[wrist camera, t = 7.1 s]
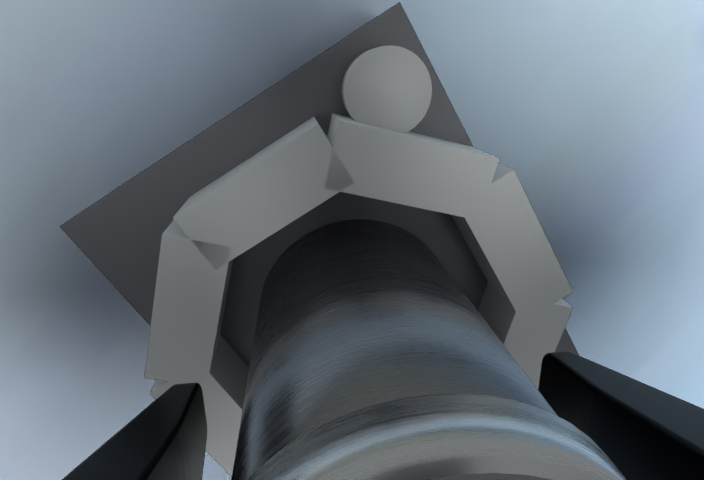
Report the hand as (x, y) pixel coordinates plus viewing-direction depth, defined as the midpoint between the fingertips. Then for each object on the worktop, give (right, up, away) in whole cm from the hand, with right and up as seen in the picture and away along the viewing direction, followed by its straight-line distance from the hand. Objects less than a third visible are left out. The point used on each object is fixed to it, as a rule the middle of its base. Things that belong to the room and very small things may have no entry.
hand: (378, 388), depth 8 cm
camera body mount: (-1, +2, +5) cm, 6 cm away
